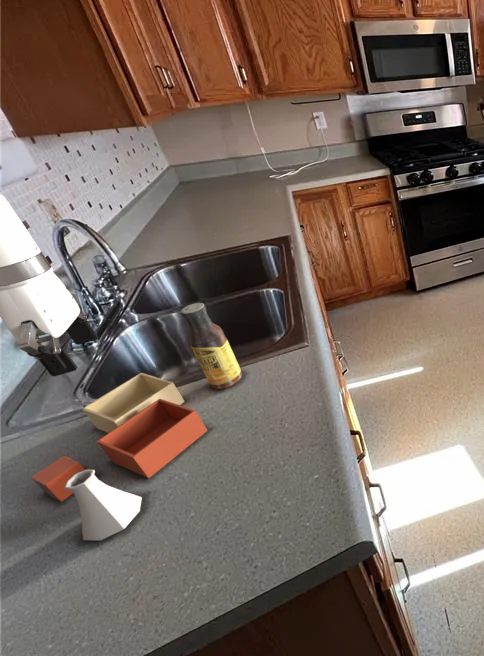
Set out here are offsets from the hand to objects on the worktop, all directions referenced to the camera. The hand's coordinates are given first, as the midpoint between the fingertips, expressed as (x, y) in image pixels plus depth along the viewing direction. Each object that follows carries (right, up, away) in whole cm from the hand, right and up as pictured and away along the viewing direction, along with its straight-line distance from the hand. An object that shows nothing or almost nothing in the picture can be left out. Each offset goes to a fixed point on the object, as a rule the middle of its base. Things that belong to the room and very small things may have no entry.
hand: (77, 356), depth 73 cm
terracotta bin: (+10, -18, +6) cm, 22 cm away
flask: (+13, -25, -7) cm, 29 cm away
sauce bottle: (+12, -10, +21) cm, 26 cm away
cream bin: (-1, -15, +14) cm, 20 cm away
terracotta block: (-1, -23, -1) cm, 23 cm away
